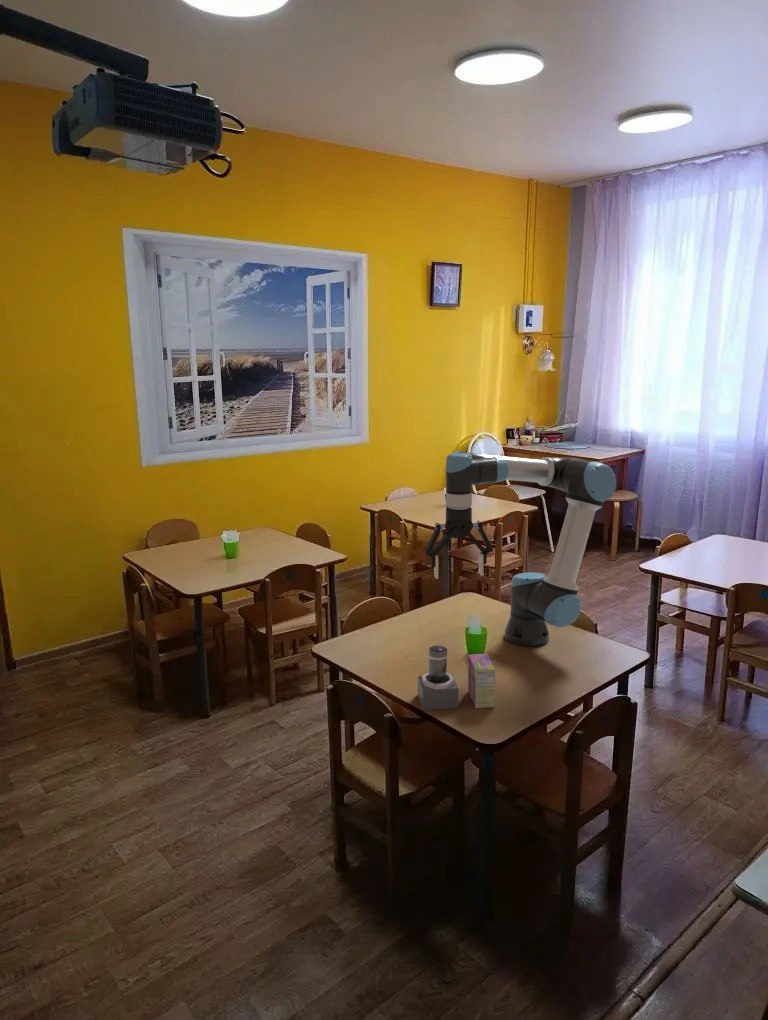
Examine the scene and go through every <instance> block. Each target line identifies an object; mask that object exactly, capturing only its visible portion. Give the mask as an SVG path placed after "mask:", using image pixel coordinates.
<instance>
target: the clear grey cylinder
mask: <svg viewBox="0 0 768 1020" xmlns="http://www.w3.org/2000/svg"><path fill="white" fill-rule="evenodd" d="M428 650H429V651H428V672H429V682H431V683H434V684H441V683H446V673H448V672H447V666H448V665H447V664H448V662H447V661H448V649H447V647H446V646H443V645H432V646H430V647H429V649H428Z"/></svg>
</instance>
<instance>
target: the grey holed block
mask: <svg viewBox="0 0 768 1020" xmlns="http://www.w3.org/2000/svg"><path fill="white" fill-rule="evenodd" d="M417 696H418V700H419V702H420V705H421V708H422V711H433V710H448V709H449V710H451V709H459V686H458V683H457V682H456V679H455V678H454V675H453V673H448V672H446V683H441V684H434V683H431V682H429V671H428V672H426V673H424V674H419V675H417Z"/></svg>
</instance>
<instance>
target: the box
mask: <svg viewBox="0 0 768 1020" xmlns="http://www.w3.org/2000/svg"><path fill="white" fill-rule="evenodd" d="M467 656H468V657H467V660H468V661H467V665H468V666H467V667H468V669H467V671H468V672H467V674H468V675H467V677H468V679H467V689H468V690H467V691H468V694H469V696H470V698H471V701H472V704H473V706H474V707H475V708H474V709H485V708H486V709H489V708H496V701H495V700H496V672H497V670H496V667H495V665H494V664H493V663H492V660H491V658H490V657H489V655H488V653H473V654H468V655H467Z"/></svg>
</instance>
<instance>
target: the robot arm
mask: <svg viewBox="0 0 768 1020" xmlns="http://www.w3.org/2000/svg"><path fill="white" fill-rule="evenodd" d="M444 471H445V505H446V507H445V523H439V522H435V524H434V531H433V532H432V534H431V537H430V538H429V540H428V543H427V544H426V547H425V549H424V554H425V555H426V556H427V557H428V556H429V557H430V566H431V568H433V577H434V578H435V579H437V580H438V579H439V556H438V555H439V553H440V551H442V549H443V548H444V547H445V546H446V544H448V542H449V541H451V539H459V538H460V539H464V538H466V537H468V538H469V540H471V541H472V543H473V544H474V545H475V546H476V547H477V549H479V550H480V551H481V552H478V569H477V570H478V572H477V574H478V575H480V577H483V576H484V565H486V564H487V561H488V560H487V556H488V555H489V553H493V551H494V548H493V546H492V544H491V542H490V540H489V539H488V536H487V534H486V532H485V530H484V526H483V523H482V521H480V520H476V522H475V521H474V522H473V520H472V519H473V513H472V512H473V508H472V507H471V506H472V505H473V500H472V499H473V493H472V492H473V486H476V485H477V486H478V485H485V484H487V485H488V484H497V483H501V482H504V481H515V482H516V481H517V482H526V483H527V482H528V483H537V484H538V485H539V486H543V487H549V488H552V489H553V488H554V489H557V490H559V491H562V492H565V493H566V495H565V499H566V501H567V502H566V503H568V506H567V509H566V513H565V516H564V520H563V523H562V524H563V525H562V528H561V531H560V535H559V538H558V542H557V545H556V549H555V553H554V555H553V559H552V563H551V566H550V571H549V574H548V575H546V574H544V573H541V572H521V573H517V574H515V575H513V576H512V578H511V585H510V615H509V619H508V621H507V623H506V625H505V628H504V639H505V640H506V641H508V642H509V643H511V644H513V645H518V646H523V647H538V646H543V645H546V644H547V643H548V642H549V640H550V632H549V631H550V630H549V628H548V625H551V626H554V627H556V628H566V627H568V626H570V625H571V624H573V623H575V622H576V620H577V619H578V617H579V616H580V614H581V611H582V603H581V600H580V598H579V597H578V592H579V587H578V585H577V583H576V581H577V578H578V575H579V572H580V571H579V570H580V568H581V564H582V560H583V557H584V554H585V550H586V546H587V542H588V539H589V536H590V532H591V529H592V525H593V522H594V518H595V514H596V512H597V511H598V510H599V509H602V507H603V504H604V502H606V501H608V500H609V499H610V497H611V498H612V497H613V495H614V494H615V491H616V487H617V478H616V474H615V473H614V470H613V469H612V467H610V465H607V464H605V463H601V462H600V461H593V460H588V459H582V458H578V457H577V458H576V457H548V456H544V457H542V458H540V459H537V458H526V457H517V456H505V455H498V454H484V453H474V452H466V451H461V450H457V451H454V452H452V453H449V454H448V455H447V456H446V461H445V470H444ZM473 528H475V530H477V531H478V532H477V533H479V535H480V538H481V539H482V541H483V544H484V545H485V547H484V546H483V545H482V544H481V543H480V542H479V540H478V539H477V538H476V537H474V535H473V534H472V532H471V531H472V529H473ZM444 529H445V530H446V532H445V533H444V534H443V536H442V537H441V539H440V540H439V541H438V538H439V536H440V534H441V532H443V530H444ZM437 541H438V542H437ZM436 542H437V544H436ZM435 544H436V545H435Z"/></svg>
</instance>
